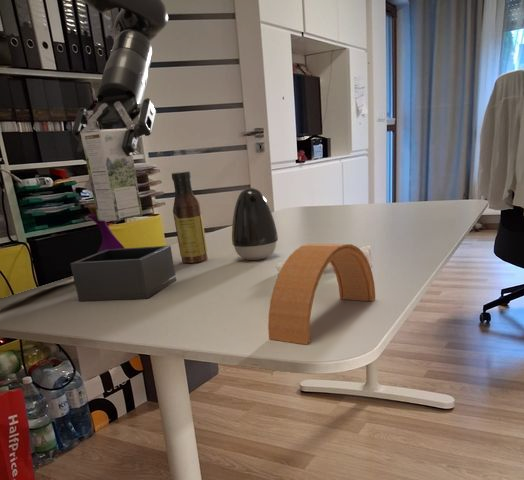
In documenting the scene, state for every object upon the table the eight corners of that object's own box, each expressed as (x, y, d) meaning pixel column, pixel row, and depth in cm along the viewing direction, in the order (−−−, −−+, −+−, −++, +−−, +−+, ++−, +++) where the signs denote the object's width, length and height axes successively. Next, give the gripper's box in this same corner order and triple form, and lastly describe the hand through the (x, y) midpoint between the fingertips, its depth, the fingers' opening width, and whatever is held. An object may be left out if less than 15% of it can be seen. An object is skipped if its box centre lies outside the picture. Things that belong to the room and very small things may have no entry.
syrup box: (124, 216, 95) (107, 130, 90) (144, 215, 92) (128, 126, 87) (97, 221, 92) (78, 132, 86) (117, 221, 88) (98, 128, 83)
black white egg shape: (238, 265, 112) (229, 191, 106) (231, 257, 121) (223, 189, 116) (284, 258, 113) (278, 186, 108) (273, 251, 123) (267, 184, 118)
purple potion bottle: (101, 278, 113) (83, 192, 107) (97, 272, 120) (79, 191, 114) (136, 272, 116) (120, 188, 110) (129, 266, 123) (114, 187, 116)
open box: (78, 301, 96) (69, 263, 93) (113, 283, 107) (106, 249, 105) (148, 298, 92) (141, 259, 90) (176, 280, 104) (170, 245, 101)
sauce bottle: (191, 258, 125) (178, 171, 118) (213, 258, 123) (201, 169, 115) (175, 264, 120) (161, 173, 113) (198, 264, 117) (185, 171, 110)
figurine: (375, 258, 104) (289, 271, 110) (372, 232, 102) (284, 247, 108) (368, 281, 88) (268, 296, 94) (363, 251, 87) (262, 268, 93)
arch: (376, 299, 78) (375, 231, 74) (306, 344, 63) (300, 263, 59) (341, 296, 81) (338, 231, 77) (267, 338, 66) (259, 261, 63)
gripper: (77, 70, 91) (54, 142, 85) (151, 58, 88) (133, 133, 81) (99, 105, 98) (79, 174, 92) (169, 95, 94) (153, 166, 88)
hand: (104, 154), depth 87 cm, fingers closed on syrup box, 7 cm apart
